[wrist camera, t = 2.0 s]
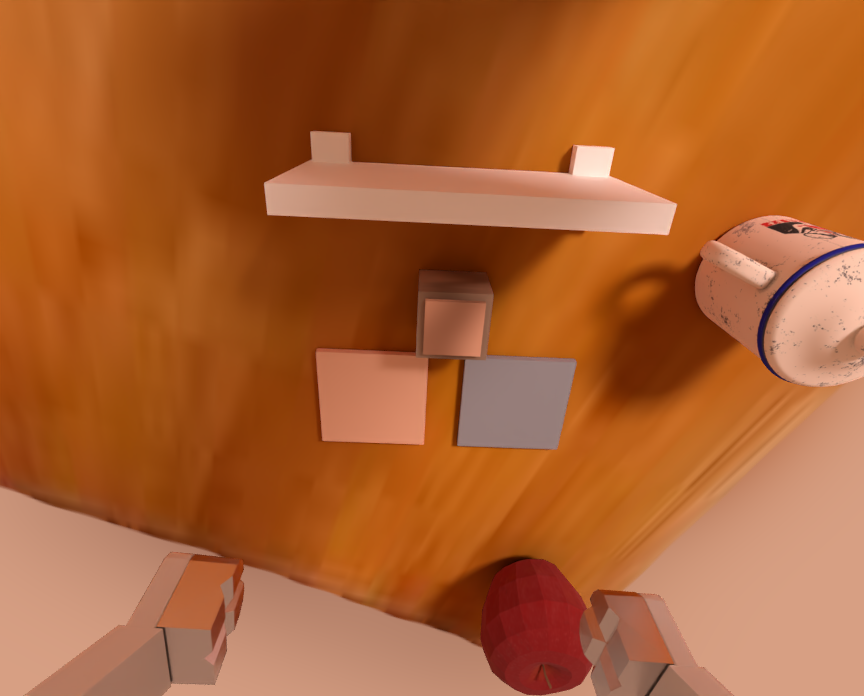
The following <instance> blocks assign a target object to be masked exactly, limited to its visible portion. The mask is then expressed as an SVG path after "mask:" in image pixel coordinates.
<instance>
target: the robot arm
mask: <svg viewBox="0 0 864 696" xmlns="http://www.w3.org/2000/svg"><path fill="white" fill-rule="evenodd" d="M243 570H244V567H243V559H234V558H225V557H216V556H206V555H198V554H188V553H178V552H170V554H168V555H167V557H166V558H165V559H164V560H163V562H162V564H161V565H160V567H159V569H158V571H157V573H156V574H155V576H154V578H153V579H152V581H151V583H150V585H149V586H148V588H147V590H146V592H145V593H144V595H143V597H142V599H141V600H140V602H139V604H138V606H137V607H136V609H135V611H134V613H133V614H132V616H131V618H130V620H129V621H128V623H127V625H126V626H124V625H118V626H117V627H116V628H114V629H113V630H111V631H110V632H109V633H107V634H106V635H105V636H103V637H102V638H101V639H99V640H98V641H97V642H95V643H94V644H93V645H91V646H90V647H89V648H87V649H86V650H84V651H83V652H82V653H80V654H79V655H78V656H76V657H75V658H74V659H72V660H71V661H70V662H68V663H67V664H66V665H65V666H63V667H62V668H60V669H59V670H58V671H56V672H55V673H54V674H52V675H51V676H49V677H48V678H47V679H46V680H44V681H43V682H42V683H40V684H39V685H37V686H36V687H35V688H33V689H32V690H31V691H29V692H28V693H27V694H25V695H24V696H162V695H163V694H164V693H165V692H166V691H167V690H168V689H169V688H170V687H171V683H175V684H176V683H177V684H208V685H210V684H211V685H215V683H216V680H217V677H218V674H219V672H220V669H221V666H222V663H223V660H224V658H225V655H226V652H227V639H226V637H227V636H228V635H229V634H230V633H231V632H232V631H233V630H235V626H236V624H237V620H238V618H239V614H240V610H241V606H242V602H243V595H244V583H243V582H242V581H241V580H240V578H241V575H242V573H243ZM590 601H591V604H592V606H591V607H590V608H588V609H587V610H585V611H584V612H583V615H582V617H581V619H580V629H579V634H580V641H581V646H582V649H583V653H584V655H585V656H586V658H587V659H588V660H589V661H590V662H591V663H592V664H593V665H594V667H593V670H592V673H591V679H592V682H593V685H594V688H595V691H596V694H597V696H734V695H733V694H732V693H731V692H730V691H728V689H726V688H725V687H724V686H723V685H722V684H721V683H720V682H719V681H718V680H717V679H716V678H715V677H714V676H713V675H712V674H711V673H710V672H708V671H707V670H706V669H705V668H704V667H698V666H697V664H696V662H695V660H694V658H693V656H692V654H691V652H690V650H689V648H688V646H687V644H686V642H685V640H684V638H683V637H682V635H681V632H680V631H679V629H678V627H677V625H676V623H675V621H674V619H673V617H672V615H671V613H670V611H669V609H668V607H667V606H666V603H665V601H664V600H663V599H662V598H661V597H660V596H659V595H655V594H643V593H636V592H626V591H611V590H596V591H594V592H593V594H592V596H591V598H590Z"/></svg>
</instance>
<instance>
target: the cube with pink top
mask: <svg viewBox="0 0 864 696" xmlns="http://www.w3.org/2000/svg"><path fill="white" fill-rule="evenodd" d="M493 297H494V294H493V291H492V288H491V285H490V282H489V279H488V276H487V273H486V272H467V271H446V270H424V269H419V286H418V310H417V336H416V358H438V359H463V360H486V356H487V348H488V339H489V331H490V322H491V314H492V306H493Z"/></svg>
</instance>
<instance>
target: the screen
mask: <svg viewBox="0 0 864 696" xmlns="http://www.w3.org/2000/svg"><path fill="white" fill-rule="evenodd" d="M310 136H311V152H312V160H309V161H307V162H305V163H303V164H301V165H299V166H297V167H295V168H293V169H291V170H289V171H287V172H285V173H283V174H281V175H279V176H277V177H275V178H273V179H271V180H269V181H267V182H265V183H264V188H265V197H266V206H267V215H280V216H300V217H321V218H341V219H361V220H381V221H401V222H421V223H442V224H462V225H482V226H502V227H522V228H542V229H563V230H583V231H603V232H623V233H643V234H663V235H668V234H669V231H670V227H671V224H672V220H673V217H674V213H675V210H676V206H677V204H676V203H673V202H671V201H668V200H666V199H664V198H661V197H659V196H656V195H654V194H652V193H649V192H647V191H644V190H642V189H640V188H637V187H635V186H632V185H630V184H628V183H625V182H623V181H621V180H618V179H616V178H613V177H611V176H609V173H610V168H611V163H612V159H613V154H614V149H615V148H611V147H600V146H582V145H573V150H572V156H571V161H570V167H569V173H556V172H537V171H518V170H500V169H481V168H462V167H443V166H424V165H405V164H386V163H367V162H352V156H351V133H344V132H326V131H311V132H310Z"/></svg>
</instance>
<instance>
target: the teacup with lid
mask: <svg viewBox="0 0 864 696" xmlns="http://www.w3.org/2000/svg"><path fill="white" fill-rule="evenodd" d="M700 255H701V257H702V258H703V260H702V262H701V264H700V266H699V269H698V272H697V275H696V280H695V295H696V299H697V303H698V305H699V307H700V309H701V310H702V312H703V313H704V314H705V315H706V316H707V317H708V318H709V319H710V320H712V321H713V322H714V323H715V324H717V325H718V326H719V327H721V328H722V329H723V330H724V331H726V332H727V333H728V334H730V335H731V336H732V337H733V338H735V339H736V340H737V341H739V342H740V343H741V344H742V345H744V346H745V347H746V348H748V349H749V350H750V351H751V352H753V353H754V354H755V355H757V356H758V357H759V358H760V359H761V360H762V361H763V363H764V365H765V366H766V367H767V369H769V370H770V371H771V372H772V373H773V374H774V375H776V376H777V377H779V378H781V379H783V380H785V381H787V382H791V383H794V384H798V385H802V386H810V387H826V386H834V385H839V384H844V383H847V382H851V381H854V380H856V379H859V378H861V377H863V376H864V241H861V240H858V239H855V238H852V237H849V236H845V235H842V234H839V233H836V232H833V231H830V230H827V229H824V228H821V227H818V226H815V225H811V224H808V223H805V222H802V221H799V220H796V219H793V218H790V217H785V216H764V217H759V218H755V219H752V220H749V221H746V222H744V223H742V224H740V225H738V226H736V227H734V228H733V229H731V230H730V231H728V232H727V233H726V234H724V235H723V236H722V237H721V238H720V239H719V240H717V241H708V242H707V243H706V244H705V245H704V247H703V248H702V249H701V251H700Z"/></svg>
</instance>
